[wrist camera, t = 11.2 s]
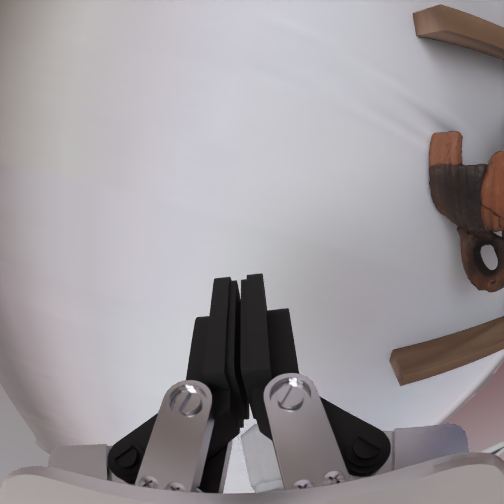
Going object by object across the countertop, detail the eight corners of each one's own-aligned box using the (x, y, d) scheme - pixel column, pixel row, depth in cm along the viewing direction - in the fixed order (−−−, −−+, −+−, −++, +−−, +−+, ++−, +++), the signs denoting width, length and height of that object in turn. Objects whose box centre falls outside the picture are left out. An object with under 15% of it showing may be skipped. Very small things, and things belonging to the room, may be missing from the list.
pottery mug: (421, 84, 14) (546, 85, 7) (471, 124, 18) (556, 133, 12) (406, 280, 17) (524, 326, 10) (458, 263, 21) (539, 291, 14)
